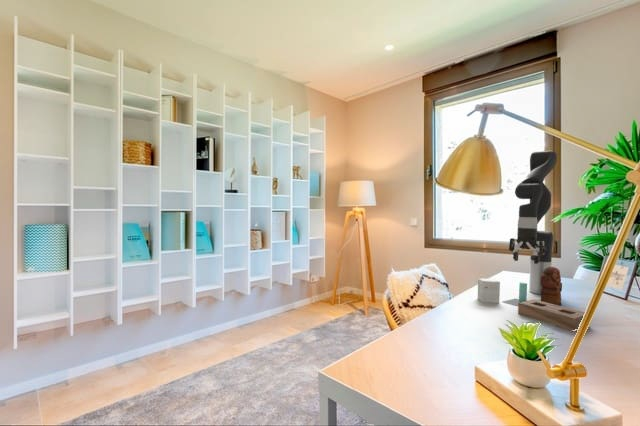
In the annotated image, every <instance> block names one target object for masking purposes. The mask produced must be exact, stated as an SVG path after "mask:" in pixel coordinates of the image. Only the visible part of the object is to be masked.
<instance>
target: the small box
mask: <svg viewBox="0 0 640 426" xmlns="http://www.w3.org/2000/svg"><path fill="white" fill-rule="evenodd" d="M500 285H501V281H499V280H498V279H495V278H478V279H477V299H478V300H479V301H480V302H482V303H493V304H495V303H498V304H500V292H501V290H500V289H501V286H500Z"/></svg>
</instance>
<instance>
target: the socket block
mask: <svg viewBox="0 0 640 426" xmlns="http://www.w3.org/2000/svg"><path fill="white" fill-rule="evenodd" d="M584 313H585V311H581V310H578V309H574V308H569V307H566V306H563V305H562V306H561V305H560V306H558V305H554V304H550V303H546V302H543V301H541V300H539V299H534V298H533V299H529V300H527V301H524V302H520V303H518V307H517V315H521V316H525V317H527V318H529V319H530V318H531V319H534V320H537V321H540V322H544V323H547V324H549V325H550V324H551V325H553V326H554V327H556V328H560V329H563V330H567V329H568V330H567V331H570V330H575V329H578V327H579V324H580V322H581V320H582V318H583V315H584ZM575 332H578V331H577V330H576V331H575Z"/></svg>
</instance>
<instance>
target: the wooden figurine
mask: <svg viewBox="0 0 640 426" xmlns="http://www.w3.org/2000/svg"><path fill="white" fill-rule="evenodd" d="M543 273H544V274H542V276H541V283H540V284H541V286H542V289H541V294H540V301H543V302H546V303H550V304H554V305H558V306H561V305H562V294H561V292H562V290H563V283H562V282H561V281H562V278H561V271H560V269H559V268H557V267H554V266H551V267H547V268H545V270H544V271H543Z"/></svg>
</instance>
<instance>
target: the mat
mask: <svg viewBox="0 0 640 426" xmlns="http://www.w3.org/2000/svg"><path fill="white" fill-rule="evenodd" d="M502 303H504V304H507V305H509V306H510V305H511V306H514V307H517V308H518V303H519V298H512V299H506V300H503V301H502Z"/></svg>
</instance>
